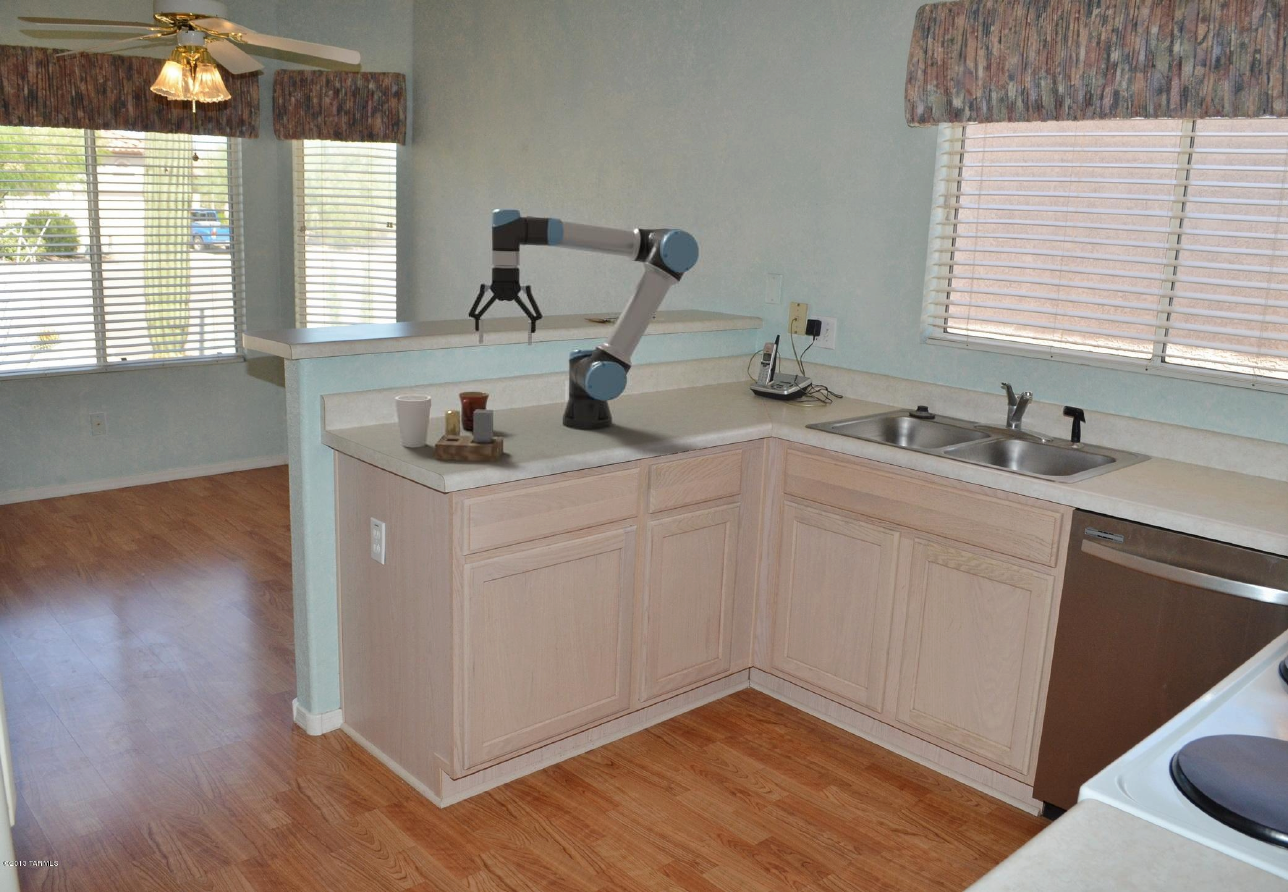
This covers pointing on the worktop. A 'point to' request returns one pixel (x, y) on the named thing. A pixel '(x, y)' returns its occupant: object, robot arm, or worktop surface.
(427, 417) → the foam cup
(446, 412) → the brass dowel
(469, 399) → the mug
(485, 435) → the square bit
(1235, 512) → the worktop surface
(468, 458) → the socket block
